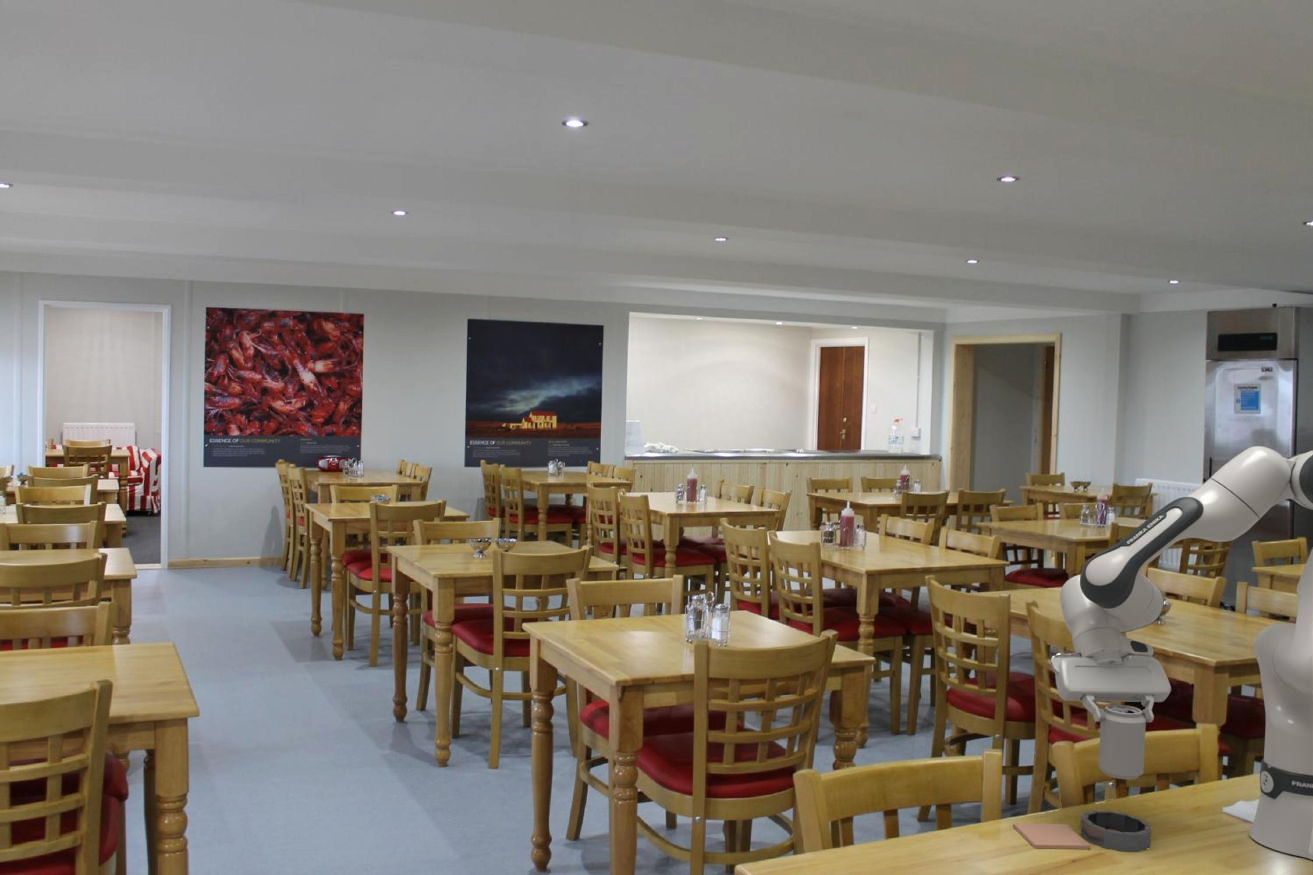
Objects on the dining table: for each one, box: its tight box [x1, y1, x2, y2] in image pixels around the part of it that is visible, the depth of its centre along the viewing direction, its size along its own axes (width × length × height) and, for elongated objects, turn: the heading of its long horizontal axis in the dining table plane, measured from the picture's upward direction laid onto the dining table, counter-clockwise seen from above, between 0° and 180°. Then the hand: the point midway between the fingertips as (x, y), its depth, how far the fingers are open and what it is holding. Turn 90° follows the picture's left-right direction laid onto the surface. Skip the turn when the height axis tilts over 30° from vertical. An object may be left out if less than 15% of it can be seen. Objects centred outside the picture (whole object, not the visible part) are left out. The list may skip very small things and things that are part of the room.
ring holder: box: [1080, 810, 1152, 852], centre depth 203 cm, size 12×12×3 cm
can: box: [1098, 703, 1147, 780], centre depth 203 cm, size 8×8×12 cm
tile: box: [1012, 822, 1092, 850], centre depth 202 cm, size 10×10×1 cm
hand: (1124, 720), depth 202 cm, fingers closed on can, 7 cm apart
